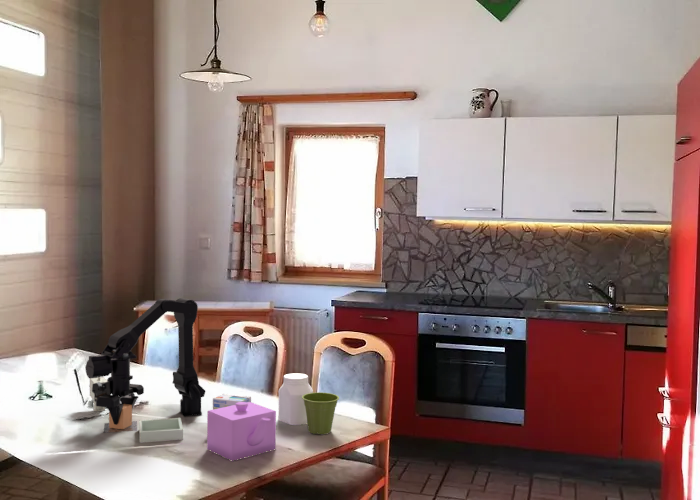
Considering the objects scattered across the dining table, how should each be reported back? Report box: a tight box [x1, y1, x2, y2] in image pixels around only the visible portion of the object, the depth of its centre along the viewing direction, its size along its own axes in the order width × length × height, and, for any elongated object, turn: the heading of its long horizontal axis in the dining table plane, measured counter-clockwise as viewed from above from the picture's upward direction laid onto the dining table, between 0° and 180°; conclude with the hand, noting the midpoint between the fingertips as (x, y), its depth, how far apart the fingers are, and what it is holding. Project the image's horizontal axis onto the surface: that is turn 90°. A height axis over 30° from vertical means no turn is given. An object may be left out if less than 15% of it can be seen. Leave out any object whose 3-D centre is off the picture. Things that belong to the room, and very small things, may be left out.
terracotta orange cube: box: [108, 404, 133, 429], centre depth 227 cm, size 5×5×6 cm
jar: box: [277, 372, 314, 426], centre depth 240 cm, size 12×10×15 cm
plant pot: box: [302, 391, 340, 435], centre depth 228 cm, size 12×12×11 cm
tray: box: [138, 417, 184, 443], centre depth 220 cm, size 13×13×4 cm
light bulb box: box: [212, 393, 252, 410], centre depth 228 cm, size 11×7×11 cm, turn 71°
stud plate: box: [102, 420, 138, 434], centre depth 227 cm, size 10×10×6 cm
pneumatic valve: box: [88, 376, 112, 413], centre depth 246 cm, size 6×12×12 cm, turn 30°
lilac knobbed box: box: [206, 401, 277, 462], centre depth 208 cm, size 15×25×14 cm, turn 43°
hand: (120, 421), depth 227 cm, fingers closed on terracotta orange cube, 5 cm apart
